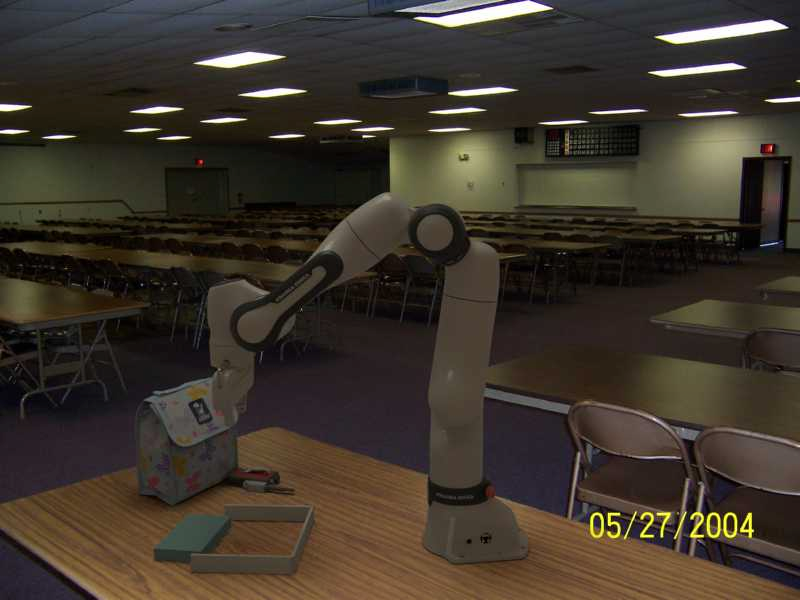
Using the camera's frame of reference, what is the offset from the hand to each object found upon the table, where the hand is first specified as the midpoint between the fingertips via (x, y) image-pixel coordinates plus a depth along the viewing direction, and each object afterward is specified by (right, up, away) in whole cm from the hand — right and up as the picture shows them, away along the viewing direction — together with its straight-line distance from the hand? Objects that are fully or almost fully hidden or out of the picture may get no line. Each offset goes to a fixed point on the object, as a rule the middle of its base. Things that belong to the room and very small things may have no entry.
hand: (236, 418), depth 153 cm
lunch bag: (-18, -22, +28) cm, 40 cm away
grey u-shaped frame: (+5, -26, -2) cm, 27 cm away
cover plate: (-9, -27, -1) cm, 28 cm away
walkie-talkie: (0, -22, +29) cm, 36 cm away
